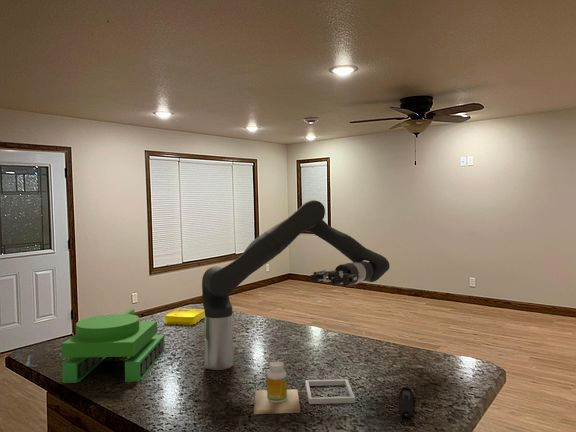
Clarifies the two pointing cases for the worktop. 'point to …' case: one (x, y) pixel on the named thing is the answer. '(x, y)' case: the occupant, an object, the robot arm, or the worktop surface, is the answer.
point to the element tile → (184, 316)
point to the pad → (267, 407)
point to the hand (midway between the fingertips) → (321, 280)
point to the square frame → (329, 399)
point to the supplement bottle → (276, 382)
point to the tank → (112, 346)
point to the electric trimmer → (406, 402)
